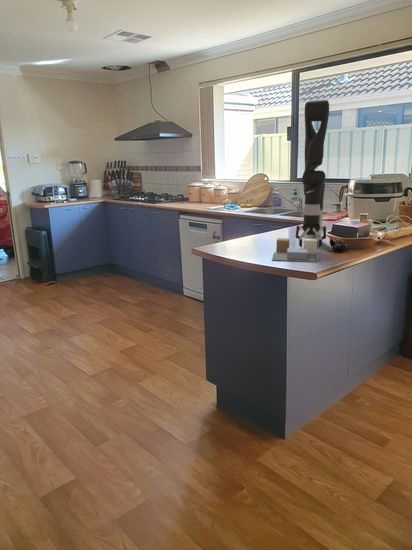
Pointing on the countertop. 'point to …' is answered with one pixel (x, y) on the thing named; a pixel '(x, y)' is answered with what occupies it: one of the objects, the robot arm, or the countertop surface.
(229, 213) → the countertop surface
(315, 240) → the white block
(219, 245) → the countertop surface
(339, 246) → the toy
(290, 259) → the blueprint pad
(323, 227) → the robot arm
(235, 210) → the countertop surface
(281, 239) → the walnut block
